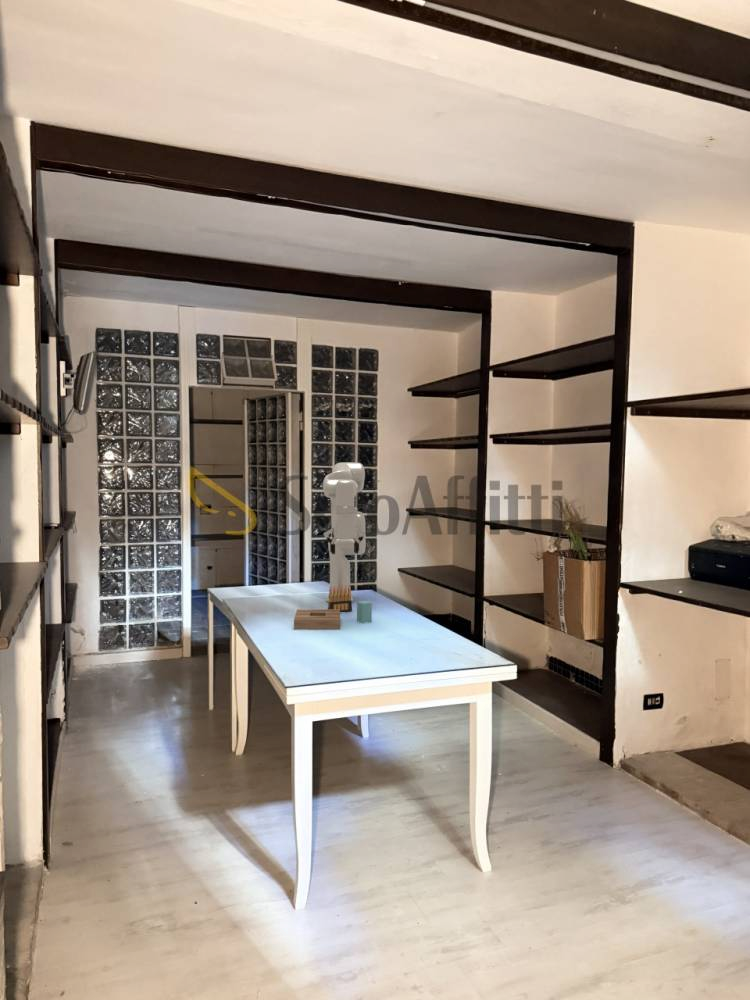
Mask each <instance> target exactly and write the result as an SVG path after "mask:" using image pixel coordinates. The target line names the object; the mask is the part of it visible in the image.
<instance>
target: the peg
mask: <svg viewBox="0 0 750 1000" xmlns="http://www.w3.org/2000/svg"><path fill="white" fill-rule="evenodd" d="M372 607H373V603H372V602H371V601H367V600H363V601H361V600H360V601H357V602H356V621H357V622H358V621H359V622H358V623H361V622H362V623H361V624H365V623H364V622H368V623H372V619H373V617H372V613H373V612H372V610H373V609H372Z"/></svg>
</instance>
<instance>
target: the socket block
mask: <svg viewBox="0 0 750 1000" xmlns="http://www.w3.org/2000/svg"><path fill="white" fill-rule="evenodd" d="M294 629H308V630H340V629H341V613H340V609H328V608H325V609H323V608H321V609H320V608H319V609H317V608H316V609H315V608H313V609H311V608H310V609H308V608H306V609H296V611H295V615H294V618H293V630H294Z"/></svg>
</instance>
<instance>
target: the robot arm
mask: <svg viewBox="0 0 750 1000" xmlns="http://www.w3.org/2000/svg"><path fill="white" fill-rule="evenodd" d="M365 470H366V469H365V467H364V465H363V464H362V463H361V462H349V461H348V462H338V463H336V464H334V466H333V467H332V471H331V473H329V474H327V475H325V477H324V479H323V482H322V491H323V494H324V496H325V497H326V498H329V499H330V508H331V509H330V510H331V511H330V513H331V514H330V515H331V517H330V518H331V519H330V520H331V529H328V530H327V531H326V532H323V536H324V538H325V540H326V541H327V542H328V543H327V545H328V551H329V552H328V553H329V587H330V586H331V587H332V596H333V588H334V586H335V588H336V595H337V587H338V585H339V588H340V594H341V586H342V585H343V592H344V589H345V585H346V586H347V594H348V587H349V585H350V586H351V563H350V561H349V560H348V559H347V557H346V556H352V555H353V556H357V555H360V556H361V555H363V554H365V552H366V546H367V545H366V541H367V540H366V539H367V537H366V534H367V533H366V517H365V514H364V513H363V512H362V511H359V510H358V508H357V507H356V506H355V497H356V496H357V494H358V493H360V492H362V491H363V489H364V486H365V480H366V479H365V478H366V471H365ZM330 534H331V535H330ZM329 535H330V536H329ZM351 600H352V603H353V602H354V598H353V597H351ZM326 602H327V603H328V602H329V597H327V598H326Z"/></svg>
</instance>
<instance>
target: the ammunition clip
mask: <svg viewBox="0 0 750 1000" xmlns="http://www.w3.org/2000/svg"><path fill="white" fill-rule="evenodd" d="M328 591H329V592H328V598H329V602H327V606H328V607H327V609H340V612H345V613H352V612H353V605H352V604H353V602H352V600H351V598H352V589H351V584H350V585H349V587H348V594H347V586H346V585H345V589H344V592H343V585H342V586H341V594H340V588H339V585H338V587H337V595H336V588H335V586H334V588H333V596H332V587H331V586H330V585H329V590H328ZM351 611H352V612H351Z"/></svg>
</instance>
